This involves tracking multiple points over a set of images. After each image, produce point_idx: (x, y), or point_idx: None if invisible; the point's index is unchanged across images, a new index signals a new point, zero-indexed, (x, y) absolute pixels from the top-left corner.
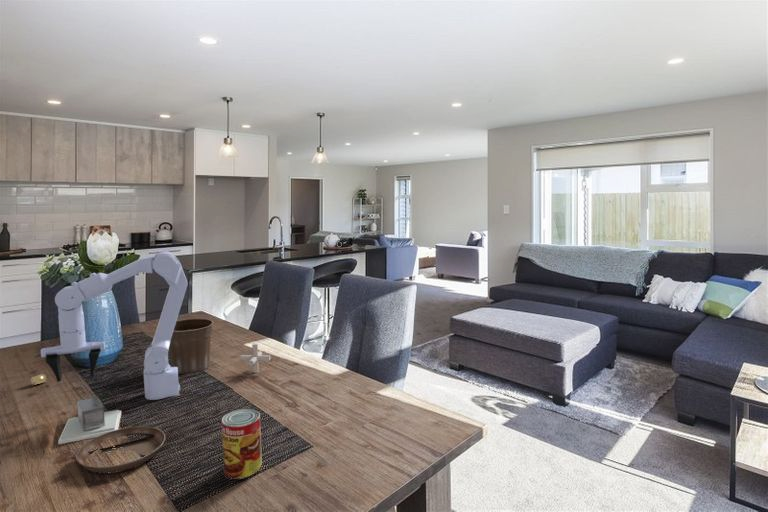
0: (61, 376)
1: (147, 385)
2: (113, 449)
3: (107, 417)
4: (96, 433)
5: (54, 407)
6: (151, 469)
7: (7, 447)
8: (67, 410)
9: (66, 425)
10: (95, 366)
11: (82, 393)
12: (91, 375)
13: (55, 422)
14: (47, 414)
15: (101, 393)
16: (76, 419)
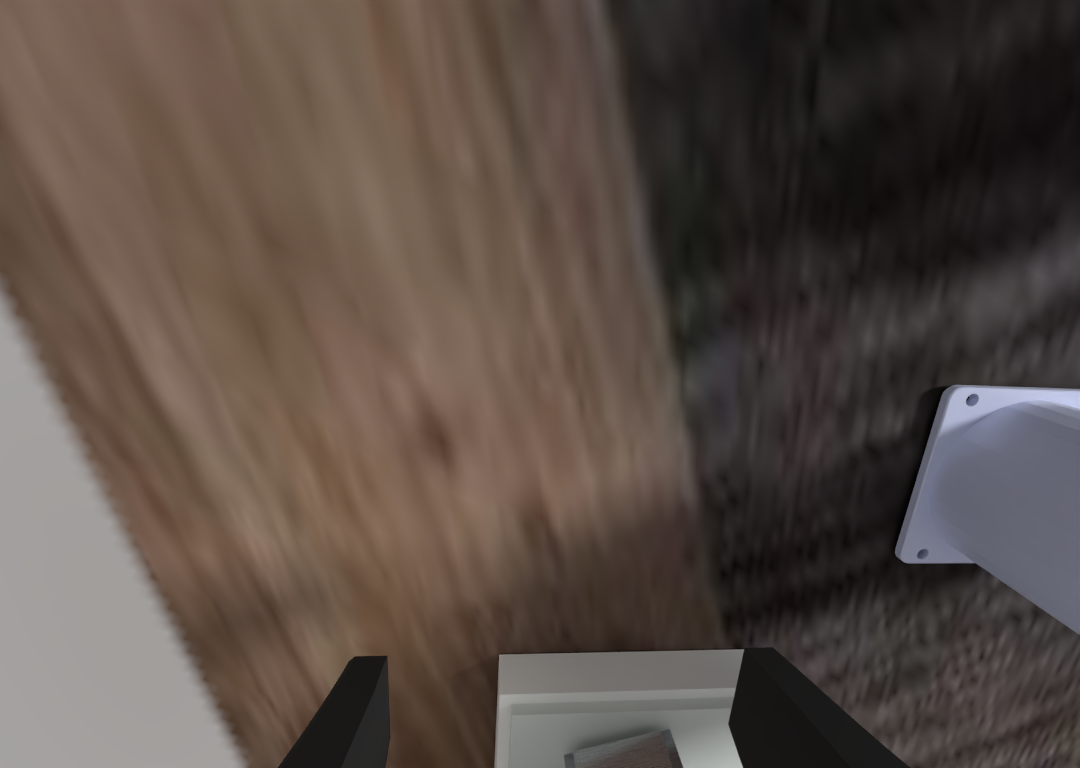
0: (378, 694)
1: (1058, 614)
2: None
3: None
4: None
5: (339, 283)
6: None
7: (243, 758)
8: (451, 398)
9: (502, 760)
10: (868, 736)
11: (516, 25)
12: (746, 747)
13: (412, 564)
14: (324, 407)
15: (674, 134)
16: (551, 744)
